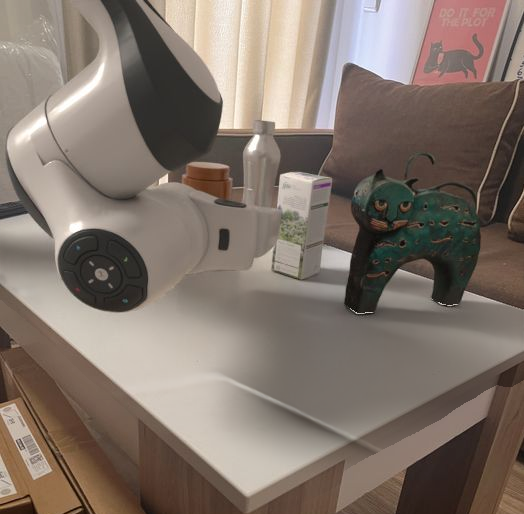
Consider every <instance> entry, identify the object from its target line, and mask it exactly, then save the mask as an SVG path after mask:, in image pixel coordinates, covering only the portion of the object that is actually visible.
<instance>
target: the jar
mask: <svg viewBox="0 0 524 514" xmlns="http://www.w3.org/2000/svg"><path fill="white" fill-rule="evenodd" d="M230 172H231V167H230V166H229V165H227V164H223V163H217V162H207V161H193V162H191V163H189V164H187V165H185V173H183V174H182V175H181V183H182V184H185V185H188V186H190V187H192V188H194V189H195V190H198V191H202V192H205V193H207V194H209V195H212V196H214V197H217V198H221V199H225V200H229V201H233V188H234V179H233V178H232V177H230Z"/></svg>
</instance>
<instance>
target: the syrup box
mask: <svg viewBox="0 0 524 514" xmlns="http://www.w3.org/2000/svg"><path fill="white" fill-rule="evenodd" d="M332 185H333V178H332V177H330V176H329V177H328V176H322V175H318V174H311V173H307V172H302V171H289V172H285V173H281V174H280V175H279V183H278V193H277V205H276V206H277V207H276V209H279V210H280V211H281V222H280V231H279V237H278V240H277V242H276V244H275V245H274V246H273V247H272V258H271V267H270V268H271V269H270V270H271V271H272V272H276V273H279V274H280V275H281V274H282V275H284V276H287V277H291V278H295V279H296V280H305V279H308V278H311V277H313V276H315V275H318V274H320V272H321V265H322V254H323V248H324V240H325V234H326V226H327V219H328V212H329V207H330V200H331V192H332Z"/></svg>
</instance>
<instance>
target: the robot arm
mask: <svg viewBox="0 0 524 514" xmlns="http://www.w3.org/2000/svg"><path fill="white" fill-rule="evenodd" d="M69 1H70V3H71V4H72V5H73V6H74V7H75V9H76V10H77V11H78V12H79V13H80V14H81V16H82V17H83V18H84V19H85V20H86V22H87V23H88V24H89V25H90V27H91V28H92V29H93V30H94V32H95V33H96V35H97V37H98V41H99V42H98V44H99V45H98V46H99V47H98V52H97V55H96V57H95V58H94V59H93V60H92V61H91V62H90V63H89V64H88V65H86V66H85V67H84V68H83V69H81V70H80V71H79V72H78V73H77V74H76V75H75V76H73V77H72V78H71V79H70V80H68V82H66V83H65V84H64V85H63V86H62V87H60V88H59V89H58V90H57V91H56V92H54V93H53V94H50V95H48V96H47V97H46V98H45V99H44V100H43V101H42V102H40V103H39V104H38V105H37V106H35V108H33V109H32V110H31V111H30V112H29V113H28V114H26V115H25V116H24V117H23V118H22V119H21V120H19V121H18V122H17V123H16V124H15V125H14V126H13V127H11V128H10V129H9V130H8V133H6V138H5V148H4V149H5V150H4V151H5V162H6V167H7V168H6V169H7V172H8V175H9V179H10V183H11V185H12V187H13V190H14V193H15V194H16V196H17V198H18V199H19V201H20V203H21V205H22V206H23V208H24V209H25V210H26V212H27V213H28V215H29V216H30V217H31V218H32V219H33V221H34V222H35V223H36V224H37V225H38V226H39V227H40V229H42V230H43V231H44V232H45V233H46V234H47V235H48V236H49V237H50V238H51V239H52V240H53V242H54V260H55V267H56V270H57V274H58V276H59V278H60V280H61V282H62V283H63V285H64V286H65V288H66V289H67V290H68V291H69V293H70V294H71V295H72V296H73V297H75V299H77V300H78V301H79V302H81V303H82V304H84V305H86V306H88V307H90V308H92V309H95V310H98V311H102V312H107V313H116V314H121V313H122V314H123V313H130V312H135V311H137V310H140V309H143V308H146V307H148V306H149V305H152V304H153V303H155V302H157V301H158V300H160V299H161V298H162V297H164V296H165V295H167V294H168V293H169V292H170V291H171V290H172V289H174V288H175V287H176V286H177V285H178V284H179V283H180V282H181V281H182V279H183V278H184V277H185V276H186V275H188V274H197V273H203V272H209V271H248V270H251V269H252V267H253V264H254V260H255V259H258V258H261V257H264V256H265V255H266V254H268V252H270V251H271V250H273V246H274V245H275V244H276V242H277V240H278V237H279V231H280V222H281V211H280V210H279V209H277V207H276V208H275V207H273V208H271V207H262V206H255V205H248V204H244V203H242V202H239V201H234V200H232V201H229V200H225V199H221V198H217V197H214V196H212V195H209V194H207V193H205V192H202V191H198V190H195V189H194V188H192V187H190V186H188V185H185V184H182V182H181V183H180V182H176V181H174V182H173V181H170V182H164V183H160V184H157V185H155V186H152V185H154V184H155V183H156V182H159V180H161V179H162V178H163V177H165V176H166V175H168V174H170V173H171V172H176V171H177V170H179V169H181V168H183V167H186V165H187V164H189V163H191V162H195V161H196V160H198V159H200V158H203V157H204V156H205V155H207V154H209V153H211V151H212V149H213V146H214V144H215V142H216V139H217V136H218V133H219V130H220V125H221V122H222V115H223V108H224V100H223V96H222V94H221V92H220V89H219V87H218V85H217V82H216V80H215V78H214V75H213V73H212V72H211V71H210V69H209V67H208V66H207V64H206V63H205V61H204V60H203V59H202V57H201V56H200V55H199V54H198V53H197V52H196V51H195V49H193V47H192V46H190V44H189V43H188V42H187V41H186V40H185V39H184V38H183V37H182V36H180V35H179V33H177V32H176V31H175V30H174V29H173V27H172V26H171V25H170V24H169V23H168V21H166V19H165V18H164V17H163V16H162V15H161V14H160V13H159V11H158V10H156V8H155V7H154V6H153V4H152V3H151V2H150V1H149V0H69ZM151 186H152V187H151ZM149 187H150V188H149Z"/></svg>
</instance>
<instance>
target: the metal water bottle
mask: <svg viewBox="0 0 524 514" xmlns="http://www.w3.org/2000/svg"><path fill="white" fill-rule="evenodd" d="M252 122H253V123H252V128H251V129H252V130H251V132H252V133H253V136H252V137H251V138H250V140H249V141H248V142H247V144H246V145H245V147H244V149H243V152H242V160H243V161H242V163H243V164H242V165H243V189H242V191H243V193H242V199H241V203H244V204H248V205H255V206H262V207H271V208H274V193H275V187H276V180H277V176H278V172H279V167H280V163H281V159H282V155H281V150H280V148H279V146H278V144H277V142H276V140H275V138H274V135H276V122H275V121H271V120H270V121H269V120H260V119H254V120H253V121H252Z"/></svg>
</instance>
